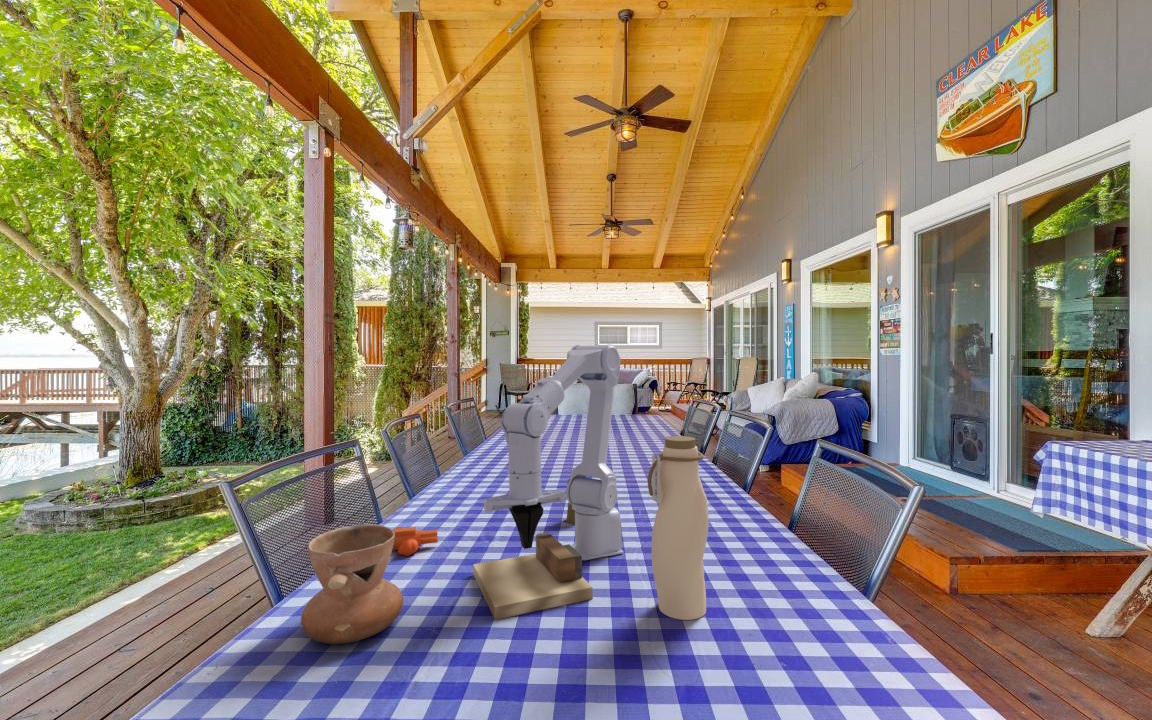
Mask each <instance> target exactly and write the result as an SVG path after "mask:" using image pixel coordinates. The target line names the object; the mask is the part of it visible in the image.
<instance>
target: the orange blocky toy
mask: <svg viewBox="0 0 1152 720" xmlns="http://www.w3.org/2000/svg"><path fill="white" fill-rule="evenodd" d="M392 530H393V531H394V533H395V538H394V544H393V549H392V550H395V551H396V550H398V551H397V553H398V554H399V555H403V556H405V557H409V556H411V555H412V554H414V553H416V552H417V551H418V549H419V547H422V545H427V544H437V543H438V542H439V541H438V540H439V539H438V537H439V536H438V529H428V530H422V529H419V530H416V526H411V527H401V526H399V527H398V526H397V527H396V528H394V529H392Z"/></svg>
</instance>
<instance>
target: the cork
mask: <svg viewBox="0 0 1152 720" xmlns="http://www.w3.org/2000/svg"><path fill="white" fill-rule="evenodd" d="M569 481H570V478H568V479H567V485H568V483H569ZM567 485H566V486H567ZM567 502H568V501H567ZM565 519H566V523H568V524H569V525H575V510H573V509H572V505H571V504H570V503H569V502H568V504H567V512H566V518H565Z"/></svg>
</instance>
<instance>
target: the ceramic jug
mask: <svg viewBox="0 0 1152 720" xmlns="http://www.w3.org/2000/svg"><path fill="white" fill-rule="evenodd" d="M393 530H394V529H391V528H390V527H388V526H385V525H381V524H370V523H369V524H368V523H367V524H366V523H365V524H363V523H362V524H355V525H352V526H342V527H338V528H335V529H331V530H329V531H327V532H323V533H322V534H319V535H317V536H315V537H314V538H313V539H311V540H310V541H309V543H308V546H307V550H308V556H309V559H310V560H309V561H310V563H311V566H312V569H313V572H314V574H315V576H316V578H317V580H318V582H319V583H320V585H321V587H322V589H321V590H320V591H319V592H318V593H317V594H315V595H314V596H313V597H312V598H311V599H309V601H308V602H307V603H306V605H305V606H304V608H303V610H302V613H301V617H300V624H301V627H302V629H303V631H304V633H305V634H306V636H308V637H309V639H312V640H314V641H316V642H318V643H319V642H320V643H323V644H331V645H337V644H338V645H341V644H349V643H354V642H358V641H361V640H364V639H367V638H370V637H372V636H374V635H377V634H378V633H380V632H383V630H385V629H387V628H388V627H389V626H390V625H391V624H392V623H393V622H394V621H396V619H398V617H399V615H400V614H401V612H402V610H403V606H404V596H403V593H402V590H401V589H400V588H399V587H398V586H397V585H396V584H394V583H393V582H391V581H389V580H386V579H385V578H383V577H384V575H385V572H386V570H387V566H388V564H389V561H390V558H391V555H392V551H393V550H394V549H393V544H394V538H395V533H394V531H393Z"/></svg>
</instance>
